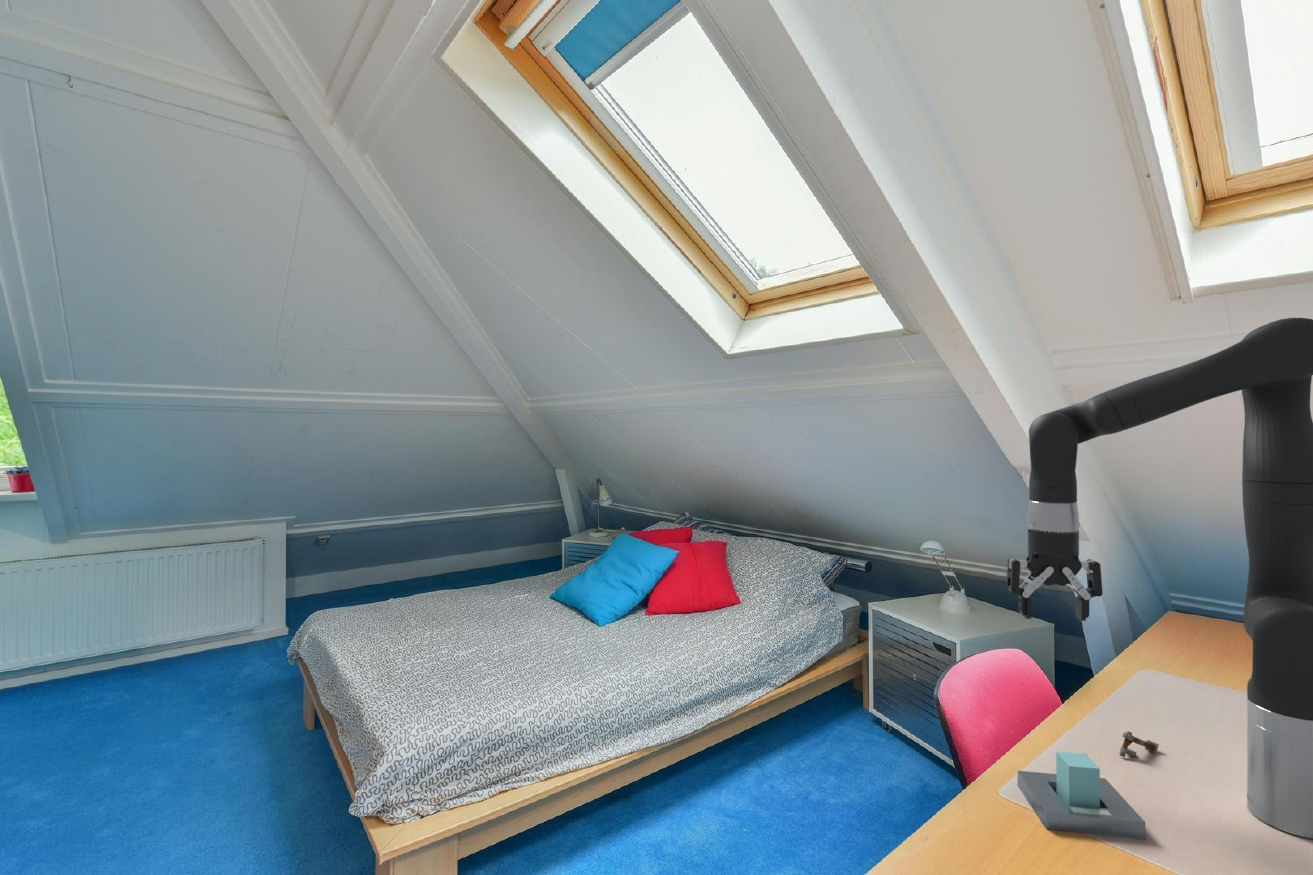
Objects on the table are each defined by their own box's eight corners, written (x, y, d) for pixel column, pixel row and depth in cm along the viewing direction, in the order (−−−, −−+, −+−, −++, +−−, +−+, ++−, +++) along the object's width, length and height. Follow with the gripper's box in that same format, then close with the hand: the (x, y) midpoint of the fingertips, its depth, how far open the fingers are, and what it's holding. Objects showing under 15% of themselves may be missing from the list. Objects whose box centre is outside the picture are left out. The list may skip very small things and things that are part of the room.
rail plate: (1105, 793, 98) (1105, 777, 98) (1145, 838, 87) (1145, 821, 87) (1017, 785, 101) (1017, 769, 101) (1045, 828, 90) (1045, 811, 90)
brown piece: (1112, 751, 109) (1119, 727, 109) (1141, 762, 111) (1148, 738, 112) (1123, 757, 107) (1130, 732, 108) (1152, 767, 109) (1159, 743, 110)
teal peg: (1085, 803, 96) (1085, 753, 96) (1099, 820, 92) (1099, 768, 92) (1056, 800, 97) (1056, 751, 96) (1069, 817, 93) (1068, 766, 92)
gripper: (1087, 523, 108) (1088, 613, 108) (1000, 522, 111) (1001, 610, 111) (1110, 531, 101) (1110, 627, 101) (1016, 529, 103) (1017, 623, 104)
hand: (1053, 618), depth 106 cm, fingers open, 8 cm apart
